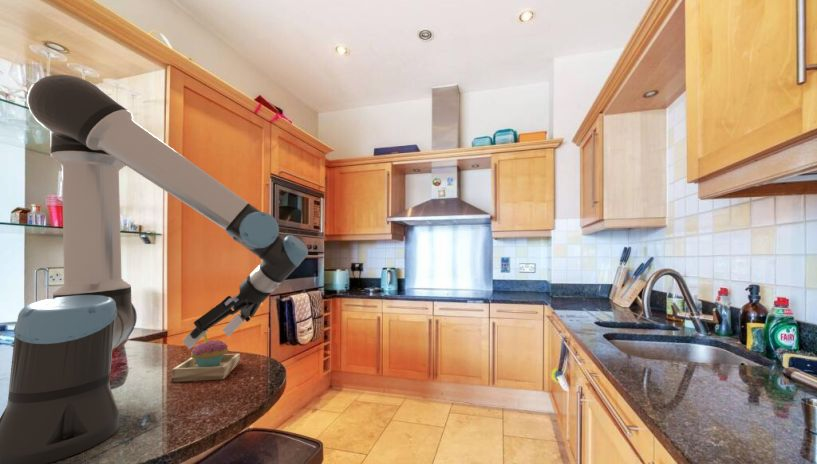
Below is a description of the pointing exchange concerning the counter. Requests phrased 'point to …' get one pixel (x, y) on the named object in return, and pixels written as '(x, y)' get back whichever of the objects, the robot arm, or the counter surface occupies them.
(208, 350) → the cupcake
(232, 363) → the maple box
